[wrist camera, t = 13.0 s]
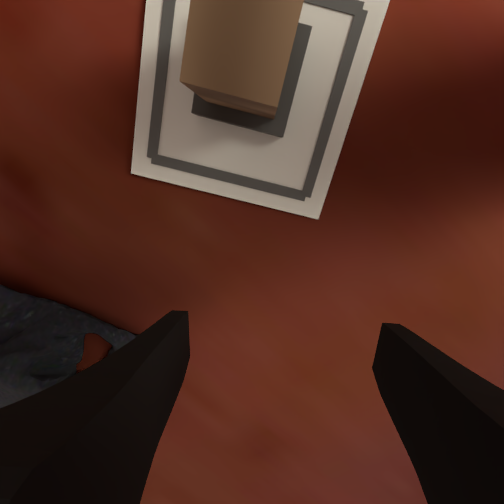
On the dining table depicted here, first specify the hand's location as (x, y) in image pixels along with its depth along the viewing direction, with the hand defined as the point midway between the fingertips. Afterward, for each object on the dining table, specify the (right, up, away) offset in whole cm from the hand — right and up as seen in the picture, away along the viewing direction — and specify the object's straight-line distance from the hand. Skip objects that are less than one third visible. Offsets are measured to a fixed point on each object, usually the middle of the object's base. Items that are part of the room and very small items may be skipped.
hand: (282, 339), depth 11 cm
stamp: (-1, +13, +5) cm, 14 cm away
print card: (-1, +12, +6) cm, 14 cm away
